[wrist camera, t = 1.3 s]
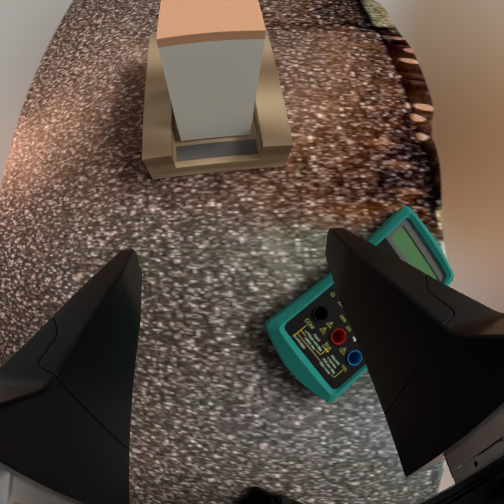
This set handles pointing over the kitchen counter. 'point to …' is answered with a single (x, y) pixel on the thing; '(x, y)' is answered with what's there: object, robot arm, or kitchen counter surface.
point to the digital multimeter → (334, 318)
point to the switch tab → (211, 64)
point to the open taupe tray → (218, 148)
